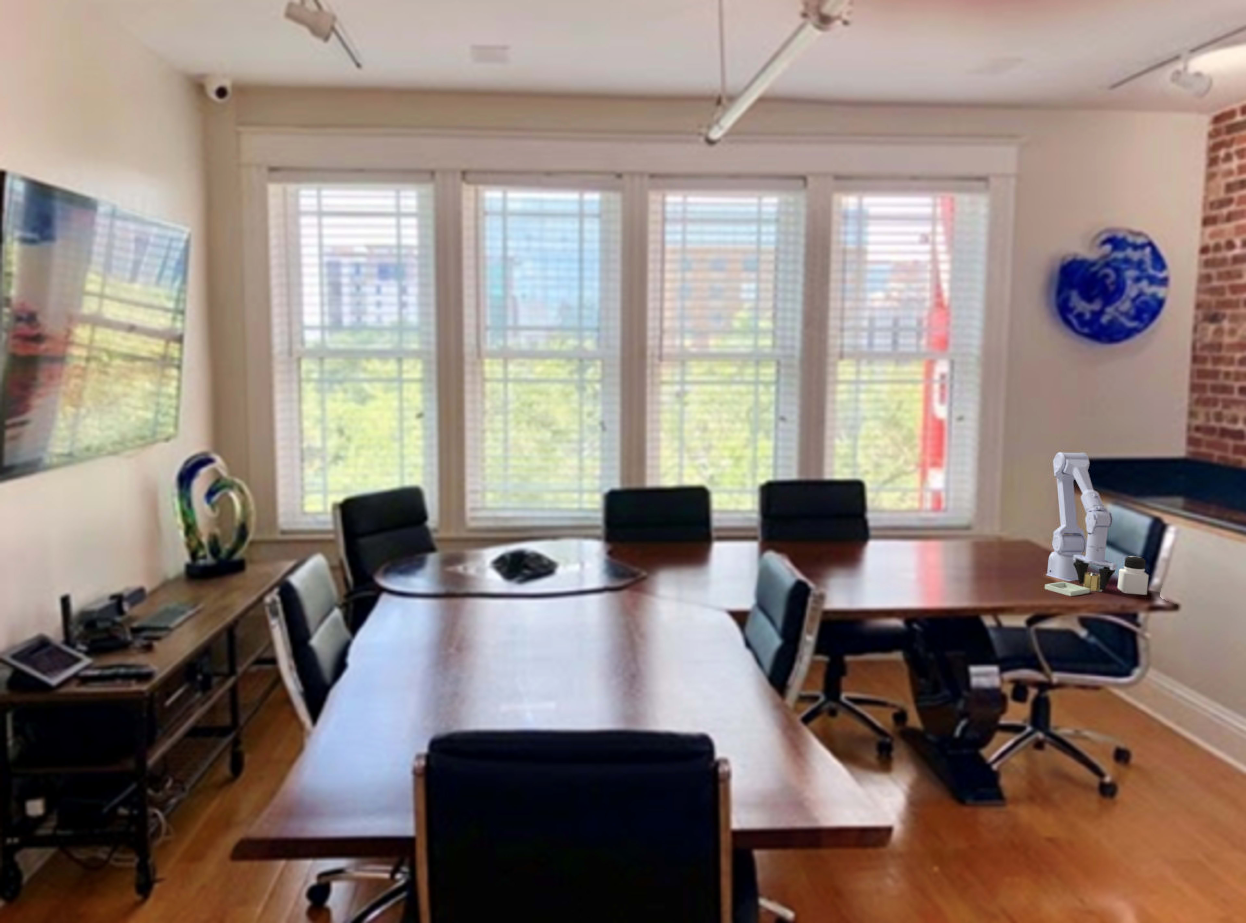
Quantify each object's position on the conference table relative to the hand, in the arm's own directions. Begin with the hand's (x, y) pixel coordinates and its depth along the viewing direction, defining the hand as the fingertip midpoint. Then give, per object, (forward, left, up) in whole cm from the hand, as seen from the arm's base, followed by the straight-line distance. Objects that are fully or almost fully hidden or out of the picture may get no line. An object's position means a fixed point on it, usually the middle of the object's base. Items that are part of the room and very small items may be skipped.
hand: (1092, 586), depth 321 cm
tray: (-2, -10, -2) cm, 10 cm away
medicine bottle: (+7, +11, -2) cm, 13 cm away
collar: (0, 0, -1) cm, 1 cm away
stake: (0, 0, -2) cm, 2 cm away
